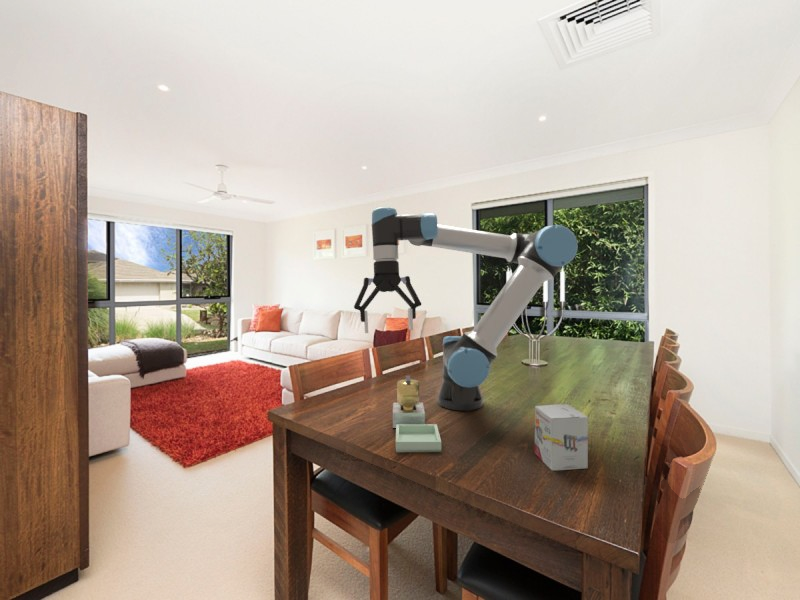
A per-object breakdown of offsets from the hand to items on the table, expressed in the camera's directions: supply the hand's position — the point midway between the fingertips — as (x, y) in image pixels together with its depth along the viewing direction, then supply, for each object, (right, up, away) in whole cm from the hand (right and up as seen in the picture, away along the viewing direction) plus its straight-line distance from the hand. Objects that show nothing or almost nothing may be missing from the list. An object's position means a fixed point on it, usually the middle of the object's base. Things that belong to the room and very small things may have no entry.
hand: (389, 331), depth 108 cm
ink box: (+40, -27, -27) cm, 55 cm away
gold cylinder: (+6, -26, -4) cm, 27 cm away
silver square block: (+6, -26, -4) cm, 27 cm away
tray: (+8, -27, -17) cm, 33 cm away
